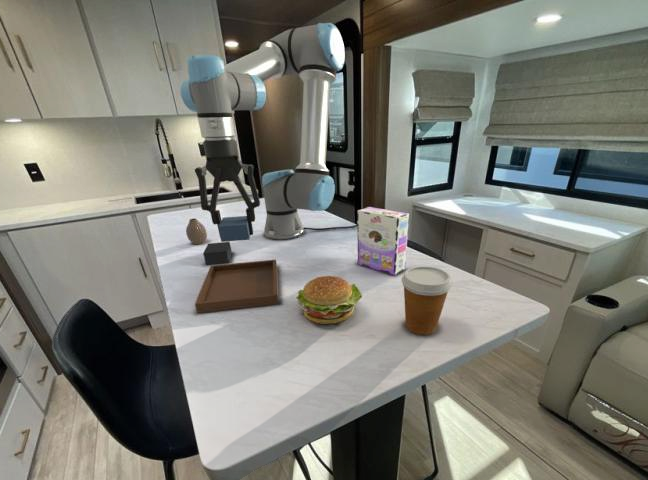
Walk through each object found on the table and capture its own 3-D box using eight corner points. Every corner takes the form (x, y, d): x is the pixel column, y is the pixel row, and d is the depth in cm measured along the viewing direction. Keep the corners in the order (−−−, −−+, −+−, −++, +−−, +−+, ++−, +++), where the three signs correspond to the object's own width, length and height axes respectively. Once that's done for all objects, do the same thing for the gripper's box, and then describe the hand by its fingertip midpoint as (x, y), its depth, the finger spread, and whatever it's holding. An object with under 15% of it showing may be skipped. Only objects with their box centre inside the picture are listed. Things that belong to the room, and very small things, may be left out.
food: (313, 336, 66) (310, 303, 62) (291, 305, 77) (288, 275, 73) (370, 319, 70) (371, 287, 66) (342, 292, 82) (342, 263, 78)
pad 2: (251, 229, 90) (249, 215, 88) (249, 239, 82) (246, 224, 80) (225, 231, 89) (223, 217, 87) (221, 242, 81) (218, 226, 79)
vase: (209, 243, 118) (204, 220, 114) (189, 246, 115) (183, 223, 111) (207, 238, 123) (202, 215, 119) (188, 241, 121) (182, 218, 117)
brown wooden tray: (277, 266, 97) (276, 259, 96) (278, 304, 78) (277, 295, 76) (212, 273, 95) (210, 265, 93) (197, 313, 75) (194, 304, 74)
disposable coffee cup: (415, 344, 62) (422, 290, 56) (389, 320, 70) (392, 270, 64) (454, 332, 65) (464, 279, 59) (425, 310, 73) (431, 262, 67)
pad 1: (231, 252, 109) (229, 241, 107) (229, 262, 101) (226, 251, 99) (210, 254, 108) (208, 243, 106) (206, 265, 100) (203, 253, 98)
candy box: (405, 269, 93) (410, 212, 85) (394, 276, 89) (398, 217, 81) (368, 258, 101) (369, 205, 93) (356, 263, 97) (356, 209, 89)
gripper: (169, 141, 70) (195, 242, 81) (262, 138, 72) (274, 236, 84) (178, 139, 76) (200, 233, 87) (263, 136, 79) (274, 228, 90)
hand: (236, 234), depth 85 cm, fingers closed on pad 2, 7 cm apart
